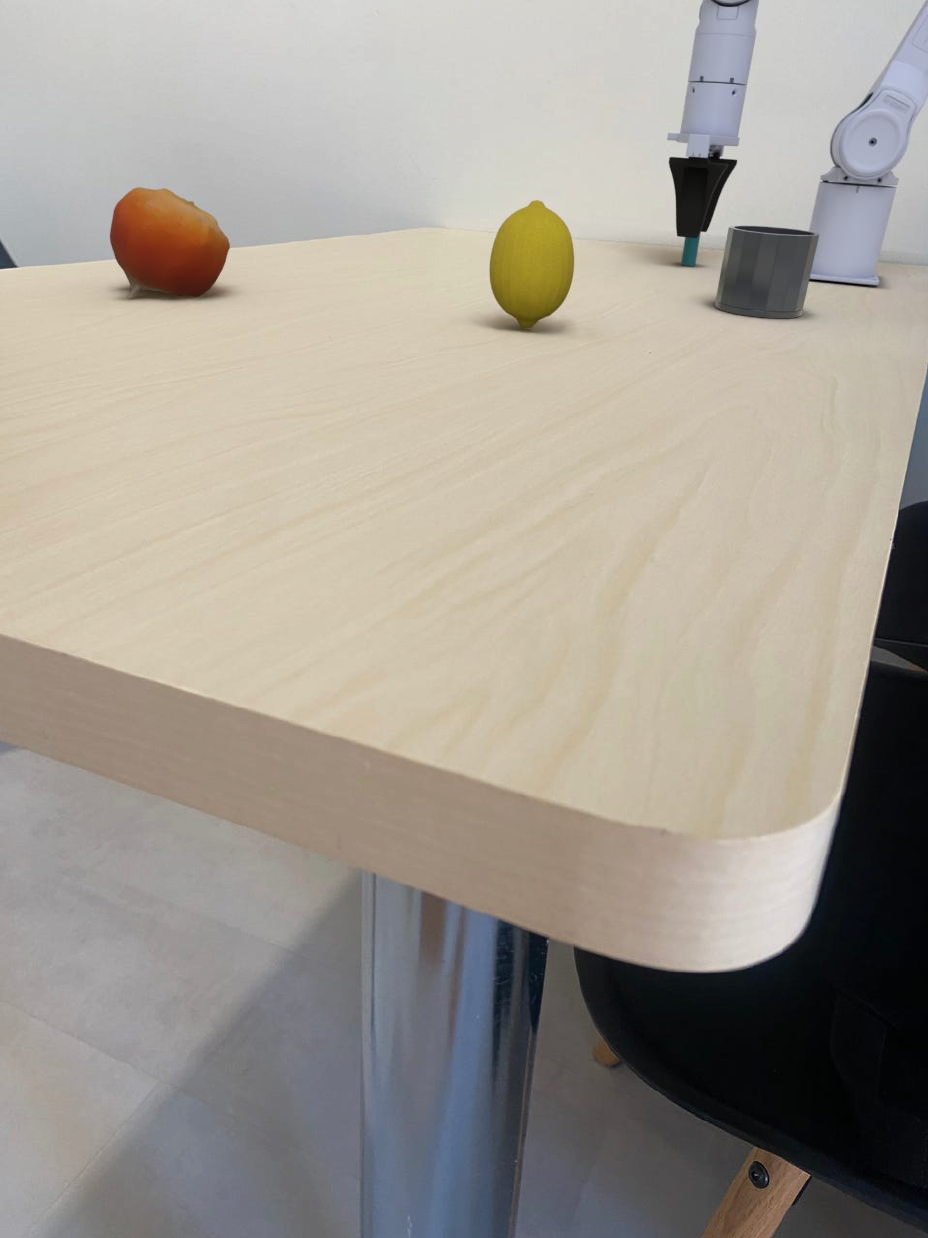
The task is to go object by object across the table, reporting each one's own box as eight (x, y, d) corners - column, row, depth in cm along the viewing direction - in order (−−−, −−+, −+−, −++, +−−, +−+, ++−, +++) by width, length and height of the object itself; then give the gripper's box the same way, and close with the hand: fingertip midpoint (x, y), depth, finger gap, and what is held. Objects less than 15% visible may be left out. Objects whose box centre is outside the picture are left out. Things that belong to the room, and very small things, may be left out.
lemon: (562, 340, 59) (576, 206, 55) (479, 332, 60) (486, 199, 56) (571, 325, 64) (584, 200, 60) (493, 318, 64) (501, 194, 61)
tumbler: (719, 299, 77) (733, 223, 74) (802, 308, 75) (820, 230, 73) (710, 311, 72) (725, 229, 69) (799, 321, 70) (818, 237, 67)
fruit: (80, 263, 66) (128, 161, 65) (181, 318, 71) (228, 224, 69) (91, 282, 60) (144, 169, 58) (201, 341, 65) (253, 238, 63)
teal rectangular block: (681, 263, 98) (694, 186, 94) (695, 264, 97) (708, 187, 94) (679, 265, 96) (692, 187, 93) (694, 266, 96) (706, 188, 92)
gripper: (686, 86, 96) (665, 225, 102) (664, 77, 84) (642, 235, 90) (754, 89, 94) (728, 231, 101) (742, 81, 82) (714, 242, 88)
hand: (692, 233), depth 95 cm, fingers open, 7 cm apart
